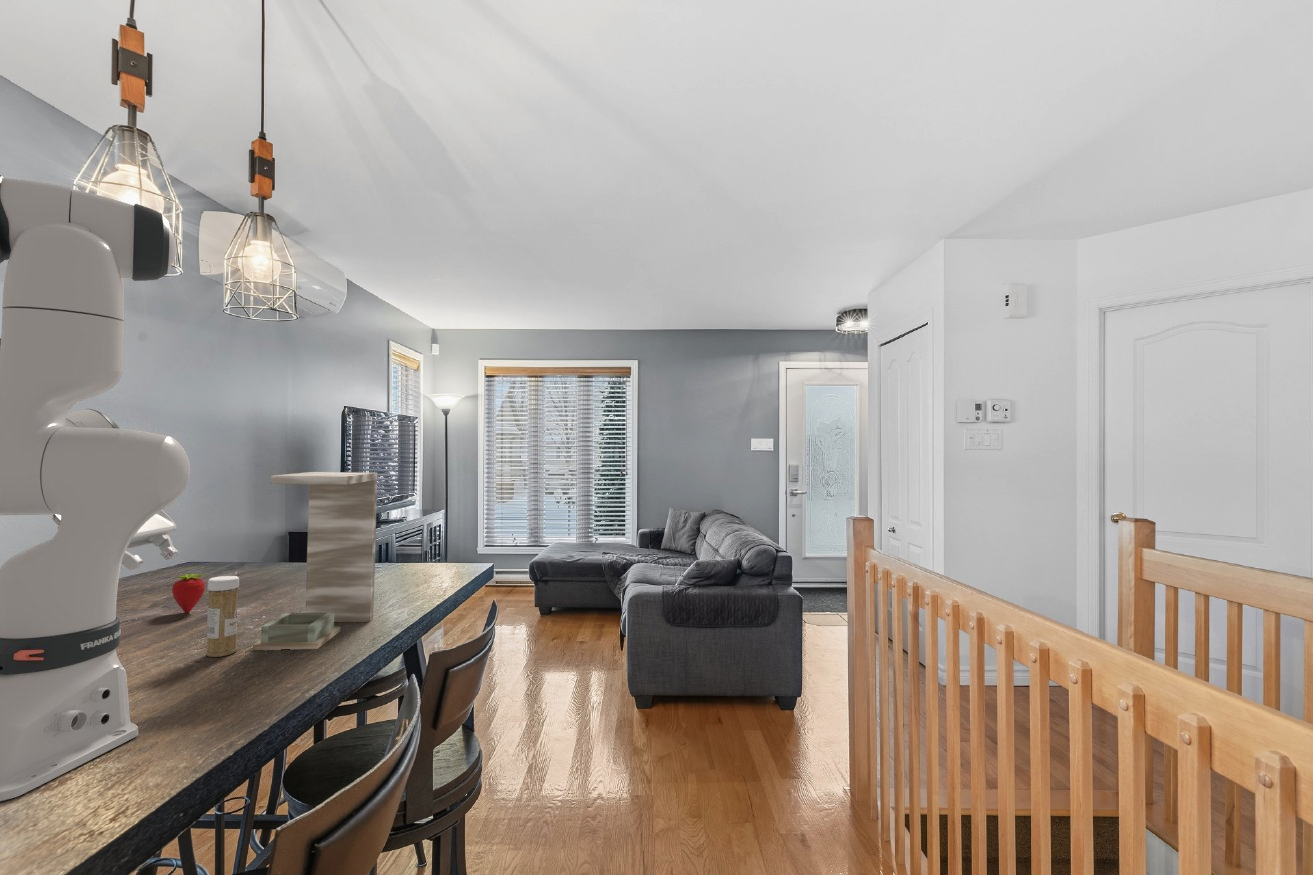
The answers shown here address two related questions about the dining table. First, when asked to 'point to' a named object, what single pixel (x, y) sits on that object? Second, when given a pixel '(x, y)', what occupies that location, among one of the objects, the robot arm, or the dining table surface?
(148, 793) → the dining table surface
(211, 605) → the sprinkles bottle
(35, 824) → the dining table surface
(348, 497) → the awning socket
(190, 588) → the strawberry
